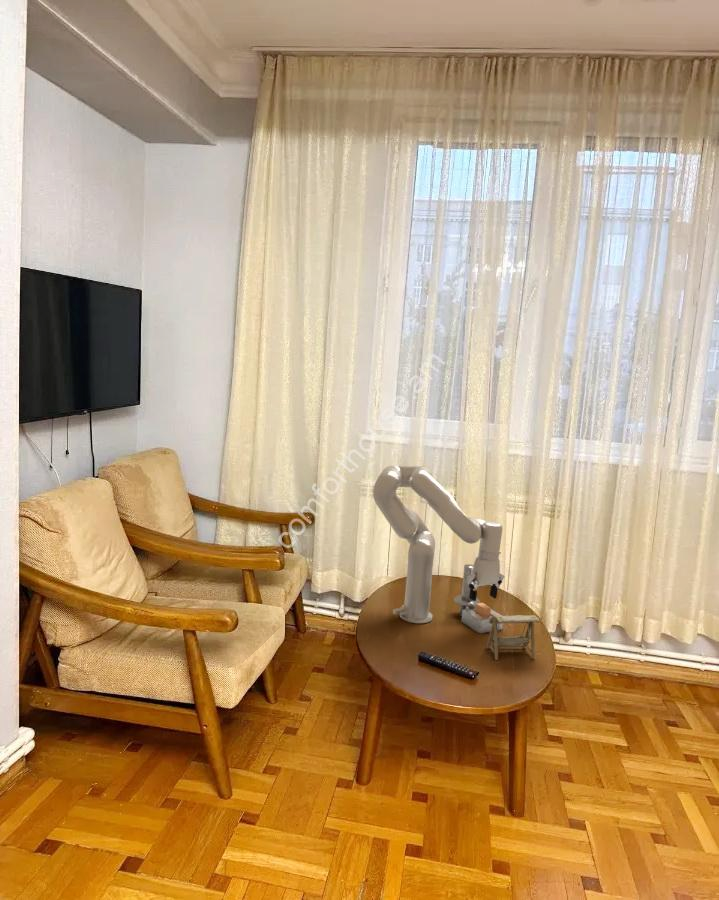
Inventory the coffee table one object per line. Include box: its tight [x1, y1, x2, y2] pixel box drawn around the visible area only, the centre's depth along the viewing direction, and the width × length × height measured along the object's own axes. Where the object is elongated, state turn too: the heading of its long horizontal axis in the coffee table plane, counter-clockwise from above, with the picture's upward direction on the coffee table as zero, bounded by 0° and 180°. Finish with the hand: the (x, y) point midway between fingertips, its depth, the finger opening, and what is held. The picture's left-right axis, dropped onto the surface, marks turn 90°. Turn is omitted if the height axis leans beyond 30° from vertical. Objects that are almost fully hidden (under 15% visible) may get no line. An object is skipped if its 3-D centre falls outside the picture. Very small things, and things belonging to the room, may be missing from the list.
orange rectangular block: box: [475, 602, 492, 617], centre depth 258 cm, size 3×5×8 cm, turn 29°
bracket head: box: [453, 563, 504, 634], centre depth 261 cm, size 11×20×20 cm, turn 28°
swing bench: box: [485, 614, 541, 661], centre depth 235 cm, size 15×10×15 cm, turn 100°
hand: (482, 598), depth 257 cm, fingers open, 9 cm apart
